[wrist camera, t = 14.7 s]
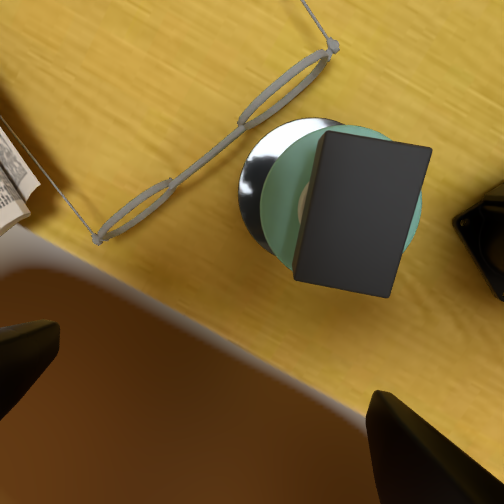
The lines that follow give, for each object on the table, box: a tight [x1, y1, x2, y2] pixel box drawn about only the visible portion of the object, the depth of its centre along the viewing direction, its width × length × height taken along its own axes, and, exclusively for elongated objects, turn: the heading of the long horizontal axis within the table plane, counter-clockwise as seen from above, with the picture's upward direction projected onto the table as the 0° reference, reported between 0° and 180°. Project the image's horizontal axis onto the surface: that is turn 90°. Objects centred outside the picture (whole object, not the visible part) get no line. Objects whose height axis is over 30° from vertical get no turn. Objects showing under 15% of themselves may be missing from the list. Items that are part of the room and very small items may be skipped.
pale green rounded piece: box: [260, 125, 432, 298], centre depth 14 cm, size 12×5×12 cm
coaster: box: [238, 117, 345, 256], centre depth 20 cm, size 9×9×1 cm
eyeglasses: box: [0, 0, 340, 246], centre depth 17 cm, size 18×19×4 cm
